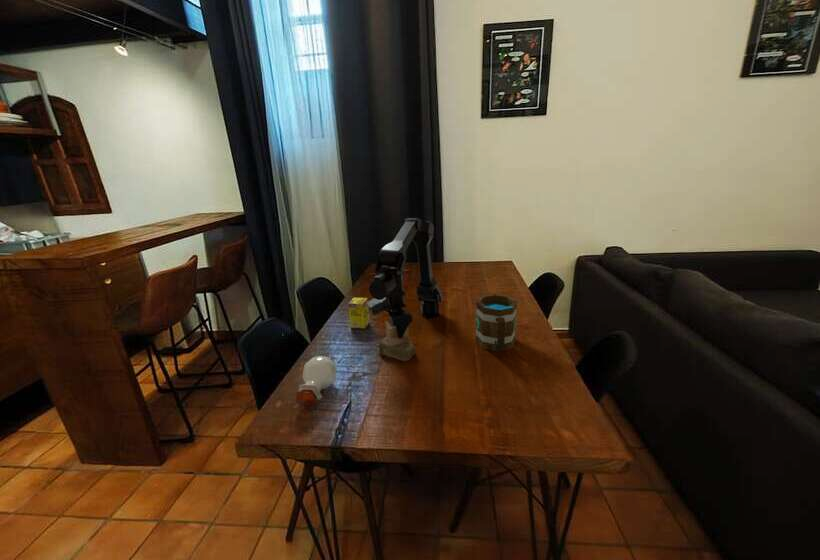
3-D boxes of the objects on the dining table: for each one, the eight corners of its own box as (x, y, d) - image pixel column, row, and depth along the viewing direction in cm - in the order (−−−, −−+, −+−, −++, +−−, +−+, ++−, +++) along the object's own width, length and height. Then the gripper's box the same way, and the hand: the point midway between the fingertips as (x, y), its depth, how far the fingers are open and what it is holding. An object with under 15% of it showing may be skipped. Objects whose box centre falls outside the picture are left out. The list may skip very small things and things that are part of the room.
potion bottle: (333, 378, 105) (315, 418, 92) (304, 363, 104) (282, 401, 90) (346, 359, 101) (330, 398, 88) (317, 343, 100) (296, 379, 86)
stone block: (388, 346, 119) (387, 333, 118) (416, 354, 114) (416, 341, 112) (378, 354, 115) (377, 341, 113) (407, 363, 109) (407, 349, 107)
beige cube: (403, 334, 117) (402, 318, 115) (408, 342, 112) (408, 325, 110) (386, 337, 115) (385, 321, 113) (391, 345, 110) (389, 329, 108)
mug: (473, 331, 126) (474, 293, 121) (511, 332, 124) (513, 293, 119) (478, 362, 107) (479, 318, 102) (522, 362, 106) (526, 318, 101)
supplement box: (365, 330, 131) (362, 303, 128) (350, 329, 132) (347, 303, 129) (370, 323, 137) (367, 297, 133) (356, 322, 138) (353, 297, 134)
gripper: (363, 282, 114) (367, 324, 119) (374, 302, 97) (378, 351, 102) (396, 277, 117) (398, 318, 122) (412, 296, 100) (414, 344, 105)
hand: (397, 332), depth 113 cm, fingers open, 8 cm apart
